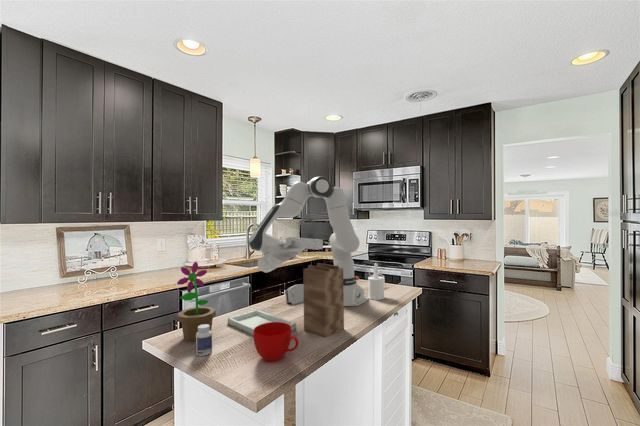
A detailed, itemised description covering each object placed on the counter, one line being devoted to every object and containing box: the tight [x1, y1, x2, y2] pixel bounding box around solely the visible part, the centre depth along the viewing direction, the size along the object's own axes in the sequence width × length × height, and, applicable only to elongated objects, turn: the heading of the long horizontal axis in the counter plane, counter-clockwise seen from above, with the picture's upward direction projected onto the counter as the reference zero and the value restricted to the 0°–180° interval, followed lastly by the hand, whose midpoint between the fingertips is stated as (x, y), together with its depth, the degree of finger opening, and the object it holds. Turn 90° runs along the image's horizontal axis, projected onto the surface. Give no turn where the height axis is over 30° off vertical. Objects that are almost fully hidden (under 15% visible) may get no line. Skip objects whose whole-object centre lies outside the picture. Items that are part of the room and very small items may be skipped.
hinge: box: [284, 283, 304, 306], centre depth 178 cm, size 17×5×10 cm, turn 135°
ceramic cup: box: [253, 322, 300, 363], centre depth 107 cm, size 13×17×10 cm
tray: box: [227, 309, 297, 337], centre depth 138 cm, size 16×28×3 cm, turn 47°
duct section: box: [285, 236, 324, 250], centre depth 141 cm, size 4×20×4 cm, turn 47°
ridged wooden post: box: [302, 262, 345, 338], centre depth 133 cm, size 12×12×27 cm
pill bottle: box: [195, 324, 213, 357], centre depth 112 cm, size 5×5×10 cm
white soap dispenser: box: [367, 262, 386, 301], centre depth 181 cm, size 10×9×20 cm
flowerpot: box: [176, 261, 217, 343], centre depth 127 cm, size 14×14×30 cm
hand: (296, 241), depth 145 cm, fingers closed on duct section, 4 cm apart
